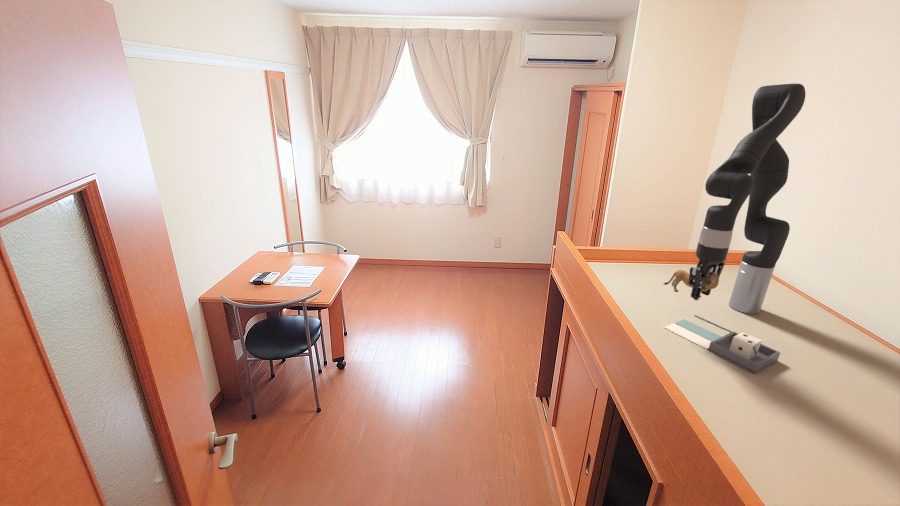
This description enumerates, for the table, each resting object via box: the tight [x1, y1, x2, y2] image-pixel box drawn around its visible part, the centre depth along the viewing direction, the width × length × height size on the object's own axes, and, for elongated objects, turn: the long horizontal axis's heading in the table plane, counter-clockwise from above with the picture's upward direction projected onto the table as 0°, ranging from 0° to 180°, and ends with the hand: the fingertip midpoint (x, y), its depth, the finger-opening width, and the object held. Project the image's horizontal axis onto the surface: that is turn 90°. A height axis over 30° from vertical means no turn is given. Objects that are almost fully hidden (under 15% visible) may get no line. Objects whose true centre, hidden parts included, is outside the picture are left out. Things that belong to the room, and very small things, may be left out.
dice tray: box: [707, 331, 781, 375], centre depth 115 cm, size 12×12×3 cm
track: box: [663, 314, 733, 350], centre depth 127 cm, size 17×14×1 cm
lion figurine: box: [663, 269, 720, 301], centre depth 121 cm, size 15×5×9 cm, turn 38°
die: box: [730, 331, 763, 360], centre depth 114 cm, size 5×5×5 cm
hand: (699, 295), depth 120 cm, fingers closed on lion figurine, 4 cm apart
